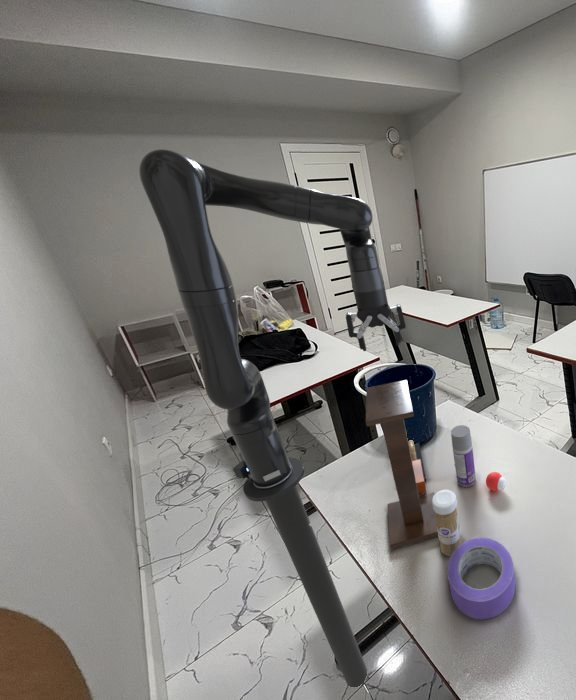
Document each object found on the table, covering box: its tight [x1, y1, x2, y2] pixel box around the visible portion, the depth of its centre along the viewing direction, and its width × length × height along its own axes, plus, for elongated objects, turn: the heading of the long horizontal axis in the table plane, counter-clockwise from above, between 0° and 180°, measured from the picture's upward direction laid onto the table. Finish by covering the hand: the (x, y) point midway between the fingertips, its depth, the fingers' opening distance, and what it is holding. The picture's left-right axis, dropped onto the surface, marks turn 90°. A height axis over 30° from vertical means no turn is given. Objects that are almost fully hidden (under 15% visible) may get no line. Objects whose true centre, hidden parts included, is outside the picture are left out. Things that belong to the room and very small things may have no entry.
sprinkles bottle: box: [432, 489, 463, 557], centre depth 70 cm, size 5×5×14 cm
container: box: [450, 424, 477, 488], centre depth 85 cm, size 5×5×15 cm
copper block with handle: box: [408, 440, 427, 495], centre depth 94 cm, size 23×4×4 cm, turn 13°
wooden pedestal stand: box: [365, 379, 439, 551], centre depth 72 cm, size 12×11×32 cm
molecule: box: [485, 471, 507, 492], centre depth 84 cm, size 5×5×4 cm
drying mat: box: [414, 442, 427, 482], centre depth 96 cm, size 16×7×1 cm, turn 14°
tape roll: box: [447, 536, 516, 620], centre depth 64 cm, size 12×12×5 cm
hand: (381, 347), depth 93 cm, fingers open, 8 cm apart
